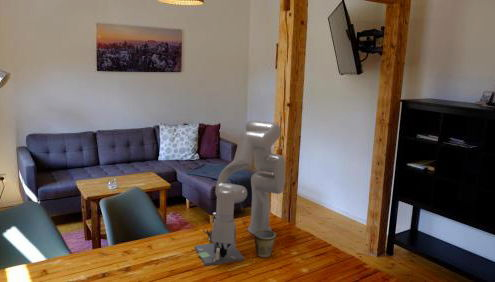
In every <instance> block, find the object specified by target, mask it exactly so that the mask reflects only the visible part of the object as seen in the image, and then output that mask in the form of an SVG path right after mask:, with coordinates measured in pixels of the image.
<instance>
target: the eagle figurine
mask: <svg viewBox="0 0 495 282" xmlns="http://www.w3.org/2000/svg"><path fill="white" fill-rule="evenodd" d="M202 231H203V233H204V234H206V235H207V236H208V240H207V242H208V243H209V242H210V241H212V229H210V230H208V229H207V230H206V231H205V230H204V229H203V230H202Z"/></svg>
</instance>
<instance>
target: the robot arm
mask: <svg viewBox="0 0 495 282" xmlns="http://www.w3.org/2000/svg"><path fill="white" fill-rule="evenodd" d="M281 132H282V131H281V127H280V125H279V124H277V123H275V122H269V121H268V122H266V121H259V120H258V121H257V120H251V121H248V122H246V125H245V131H243V132H242V133H241V135H240V137H239V141H238V144H237V147H236V151H235V154H234V157H233V160H232V161H231V162H230V163H229V164H227V165H226V166H225V167H224V168H223V169H222V170H221V171H220V173H219V176H218V178H217V181H216V185H215V191H214V192H215V196H216V209H215V212H213V213H212V216H213V217H215V218H214V219H213V223H212V228H211V231H212V238H211V242H212V243H215V244H217V245H218V246H219V248H220V254H221V257H223V258H224V257H225V255H227V248H228V247H229V246H232V245H234V246H235V245H237V241H236V238H237V227H236V220H235V219H234V212H235V211H234V210H235V204H239V203H242V202H244V201H245V200H246V199H247V197H248V189H247V188H246V187H245V186H243V185H240V184H235V183H230V182H228V179H230V177H231V176H232V175H233V174H234V173H237V172H239V171H242V170H245V169H248V168H250V167H252V164H253V163H254V168H255V169H256V170H257V171H258V172H254V173H253V174H252V175H251V177H250V186H251V209H250V210H251V212H250V213H251V214H250V216H251V217H250V225H248V227H247V231H248V232H249V233H250V234H251V235H254V232H255V231H257V230H263V229H264V230H270V231H272V228H271V226H270V211H271V209H270V208H271V198H270V195H269V193H270V194H276V195H277V194H278V195H279V194H282V193H283V192H284V190H285V185H286V184H285V183H286V159H285V157H284V156H283V155H281V154H277V153H272V146H273V145H274V144H275V143H276V142H277V141H278V140H279V137H280V136H281ZM253 160H254V161H253ZM223 243H225V246H223Z"/></svg>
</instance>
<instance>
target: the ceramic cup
mask: <svg viewBox="0 0 495 282" xmlns="http://www.w3.org/2000/svg"><path fill="white" fill-rule="evenodd" d="M276 236H277V235H276V232H275V231H272V230H271V231H270V230H264V229H263V230H257V231H255V232H254V234H253V239H254V247H255V253H256V255H258V257H262V258H268V257H270V255H271V254H272V251H273V246H274V243H275V239H276Z"/></svg>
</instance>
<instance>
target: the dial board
mask: <svg viewBox="0 0 495 282" xmlns="http://www.w3.org/2000/svg"><path fill="white" fill-rule="evenodd" d="M224 246H225V243H224ZM194 249H195V251H196V253H197V255H198V257H199V258H200V259H201V262H202V263H203V265H204V266H205V267H208V266H212V265H219V264H226V263H232V262H241V261H244V260H245V257H244V255H243V254H242V253H241V252H240V250H238V248H237V247H236V246H235V245H232V246H229V247H228V248H227V255H225V257H224V258H223V257H221V254H220V258H219V260H216V253H215V252H214V243H213V242H212V243H206V244H205V243H204V244H197V245H194Z"/></svg>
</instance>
